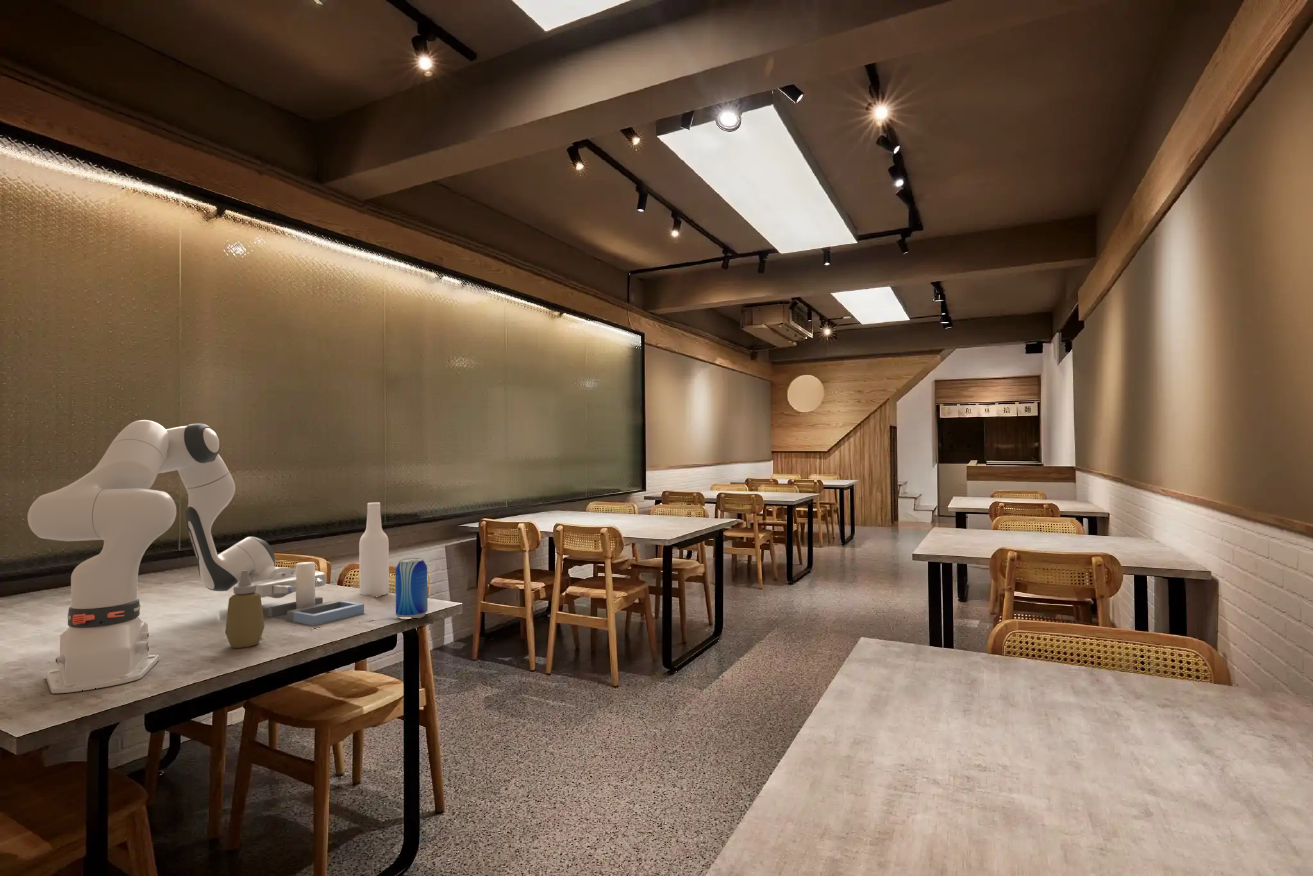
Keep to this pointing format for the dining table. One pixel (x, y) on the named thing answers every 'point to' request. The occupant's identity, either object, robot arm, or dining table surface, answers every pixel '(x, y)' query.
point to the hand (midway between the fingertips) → (305, 586)
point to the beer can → (411, 588)
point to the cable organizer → (316, 611)
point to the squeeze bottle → (244, 614)
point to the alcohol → (374, 555)
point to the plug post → (305, 584)
